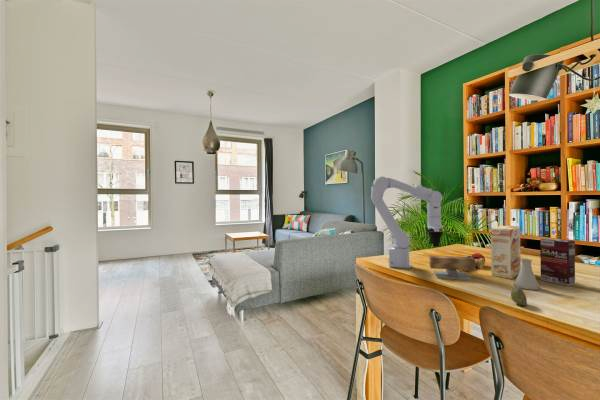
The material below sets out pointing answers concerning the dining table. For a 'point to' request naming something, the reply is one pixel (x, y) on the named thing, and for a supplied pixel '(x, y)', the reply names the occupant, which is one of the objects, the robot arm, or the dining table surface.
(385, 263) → the dining table surface
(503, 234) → the coffeecake box
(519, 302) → the lime
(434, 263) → the beam
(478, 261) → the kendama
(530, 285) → the flask
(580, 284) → the dining table surface
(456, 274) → the fulcrum
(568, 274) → the supplement box
